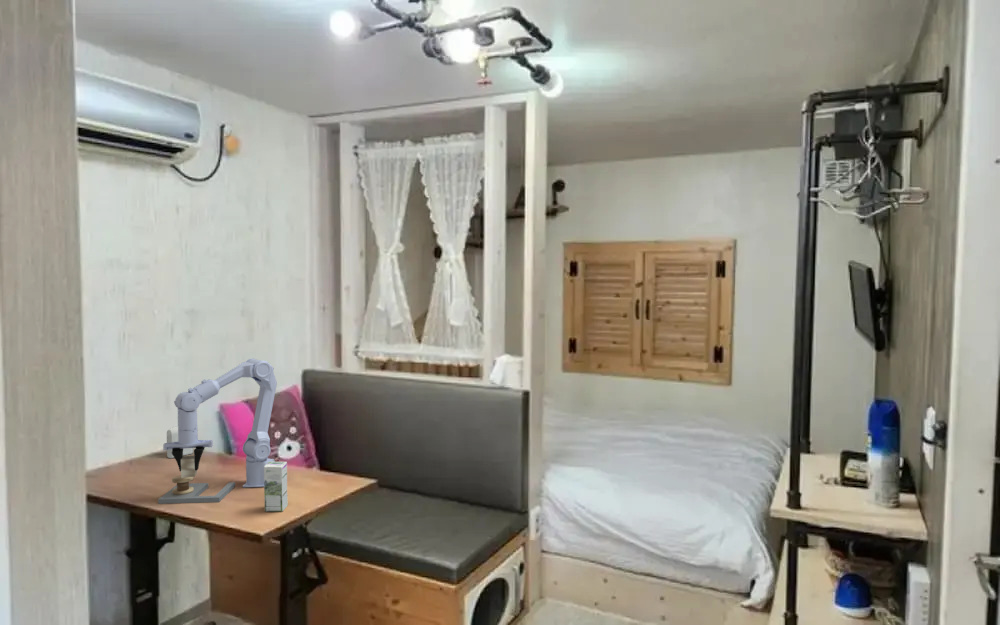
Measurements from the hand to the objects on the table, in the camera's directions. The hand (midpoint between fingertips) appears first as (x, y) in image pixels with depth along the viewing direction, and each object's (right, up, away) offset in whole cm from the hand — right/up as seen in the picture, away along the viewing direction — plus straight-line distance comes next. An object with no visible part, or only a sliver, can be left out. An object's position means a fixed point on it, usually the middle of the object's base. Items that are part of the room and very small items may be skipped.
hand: (189, 470), depth 212 cm
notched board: (+1, -10, +5) cm, 11 cm away
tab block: (0, -2, 0) cm, 2 cm away
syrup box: (+31, -10, -8) cm, 34 cm away
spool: (-4, -8, +4) cm, 10 cm away
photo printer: (-29, -7, +54) cm, 62 cm away
